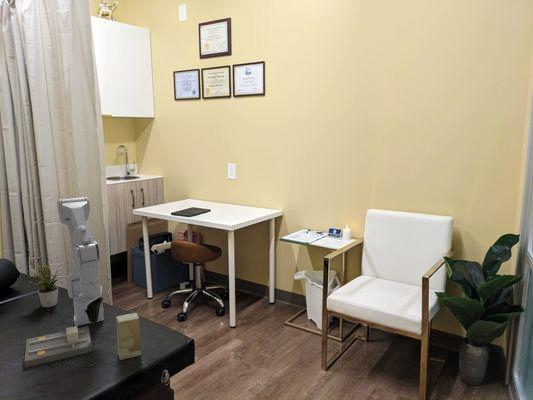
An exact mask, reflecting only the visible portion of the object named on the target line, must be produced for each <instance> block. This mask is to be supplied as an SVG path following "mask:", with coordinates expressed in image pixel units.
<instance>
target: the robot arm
mask: <svg viewBox="0 0 533 400" xmlns="http://www.w3.org/2000/svg"><path fill="white" fill-rule="evenodd" d="M90 211H91V207H90V199H89V198H88V197H87V196H82V197H72V198H71V197H70V198H59V199H58V200H57V212H58V217H59V218H58V219H59V221H60V223H61V224H63V225H66V228H67V231H68V235H69V236H68V237H69V241H70V248H71V256H72V264H73V271H71V272H70V273H69V274H68V275H67V278H66V286H67V287H66V288H67V294H68V297H69V298H70V299H73V309H74V311H73V312H74V316H73V322H74V326H77V327H78V326H83V325H88V324H92V323H97V322H101V321H104V320H105V319H104V313H105V312H104V306H103V300H104V298H103V294H102V293H103V292H104V289H103V288H104V287H103V285H101V277H100V263H99V261H100V260H101V259H100V258H101V253H100V252H101V251H100V247H99V245H98V242H97V240H95V239H94V235H93V231H92V229H91V228H90V227H89V226H87V223H86V222H87V221H88V220H89V217H90Z"/></svg>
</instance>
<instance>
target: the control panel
mask: <svg viewBox="0 0 533 400" xmlns="http://www.w3.org/2000/svg"><path fill="white" fill-rule="evenodd" d="M77 329H78V338H79V340H78V341H73V342H69V343H67V333H66V330H65V331H60V332H55V333H50V334H45V335H42V336H35V337H31V338H27V339H26V343H25V344H26V345H25V351H24V368H26V369H27V368H30V367H35V366H38V365H43V364H45V363H46V364H47V363H51V362H54V361H59V360H64V359H67V358H73V357H76V356H80V355H85V354H89V353H92V352H93V344H92V340H91V333H90V328H89V326H88V325H87V326H83V327H79V328H78V327H77Z"/></svg>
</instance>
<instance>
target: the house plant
mask: <svg viewBox="0 0 533 400" xmlns="http://www.w3.org/2000/svg"><path fill="white" fill-rule="evenodd" d="M37 266H38V268H39V270H40V274H41V275H42V277H41V276H38V275H37V274H36V273H35V272H33V271H29V270H28V273H31V274H32V275H33V274H34V278H35V279H37V280H38V281H39V282H33V281H27V283H28V282H29V286H28V287H31V286H33V285H35V287H36V286H37V294H38V296H39V300H40V304H41V306H42V307H43V308H51V307H54V306H56V305H57V303H58V294H59V287H58V286H57V285H58V284H59V282H58V281H59V280H58V279H56V278H57V277H59V276H60V274H57V273H58V272H61V271H62V270H64V268H61V269H60V267H61V266H59V267H58V269H57V270H56V271H55V273H54V274H53V276H52V278H51V268H50V265H49V264H48V265H46V264H44V265H43V267H42V266H41V265H40V264H37ZM59 269H60V270H59ZM58 270H59V271H58ZM29 277H31V275H29ZM60 283H63V281H60Z"/></svg>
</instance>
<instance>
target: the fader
mask: <svg viewBox="0 0 533 400" xmlns="http://www.w3.org/2000/svg"><path fill="white" fill-rule="evenodd" d="M65 331H66V333H67V343H69V342H73V341H78V340H79V338H78V326H75V325H74V326H71V327H66V328H65Z"/></svg>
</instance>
